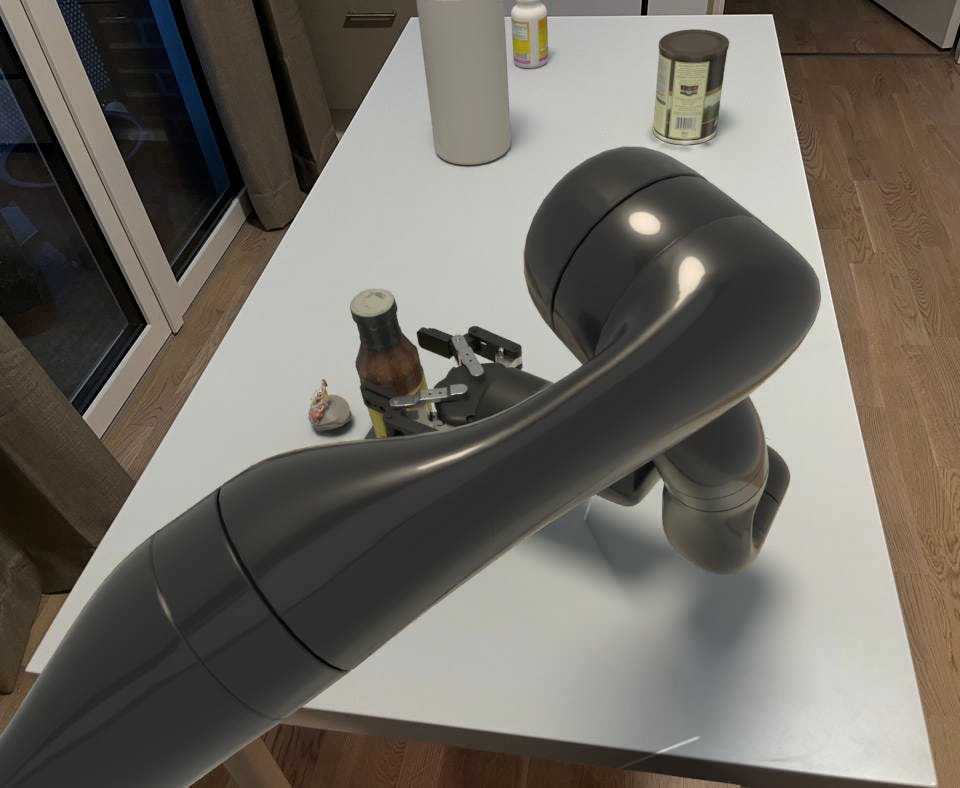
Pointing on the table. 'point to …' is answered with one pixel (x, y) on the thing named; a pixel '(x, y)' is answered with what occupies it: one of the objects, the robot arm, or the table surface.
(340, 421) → the figurine
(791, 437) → the table surface
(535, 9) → the supplement bottle
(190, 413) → the table surface
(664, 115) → the coffee can
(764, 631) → the table surface
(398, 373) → the sauce bottle
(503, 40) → the cylinder vase
